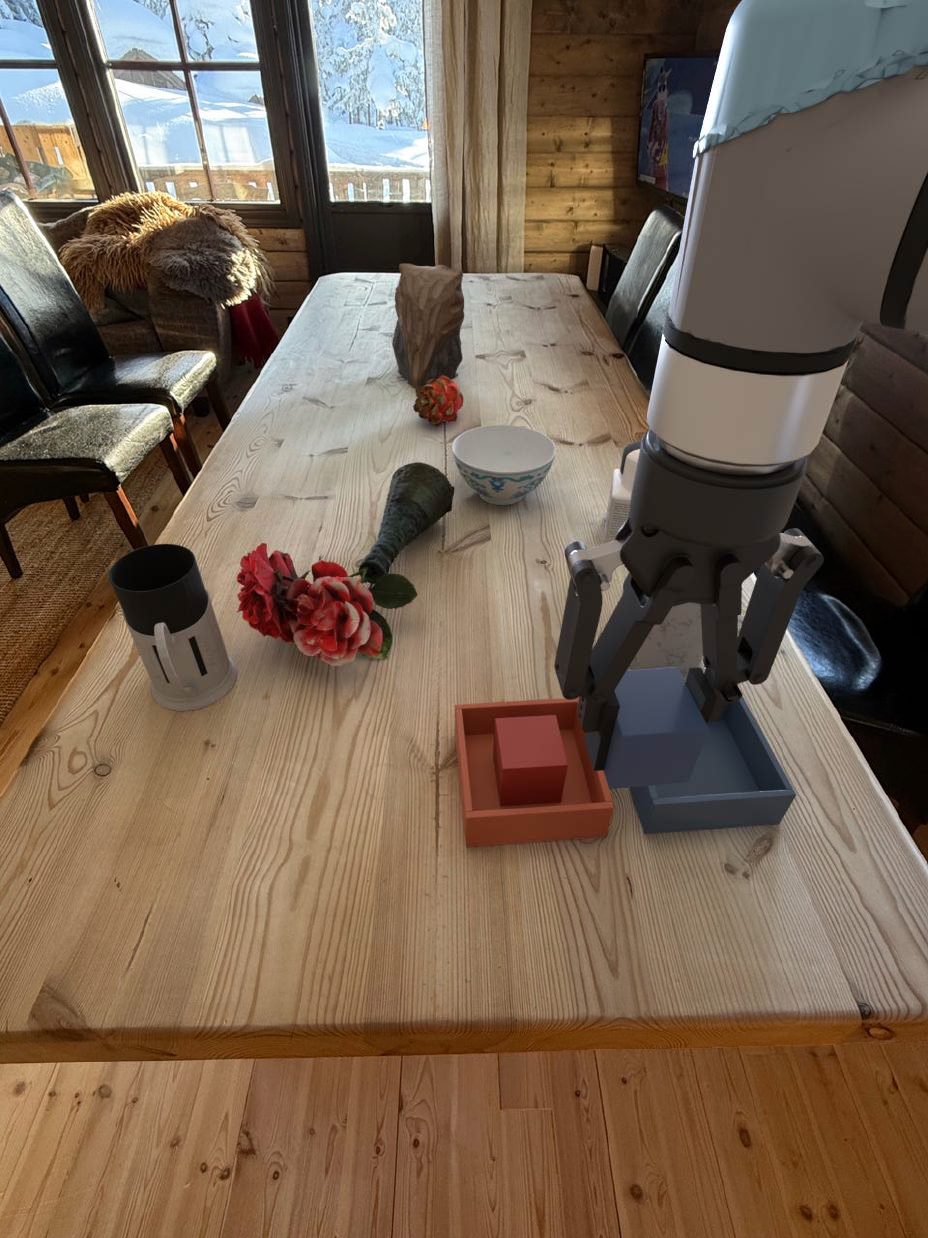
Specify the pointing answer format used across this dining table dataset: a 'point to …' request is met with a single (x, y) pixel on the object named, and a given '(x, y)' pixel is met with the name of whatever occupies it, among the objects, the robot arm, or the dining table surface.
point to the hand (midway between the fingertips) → (637, 750)
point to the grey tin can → (673, 642)
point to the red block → (529, 760)
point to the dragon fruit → (438, 400)
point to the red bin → (493, 824)
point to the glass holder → (173, 626)
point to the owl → (428, 323)
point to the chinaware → (503, 461)
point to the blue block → (654, 730)
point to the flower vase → (345, 579)
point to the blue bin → (721, 782)
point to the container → (621, 491)
